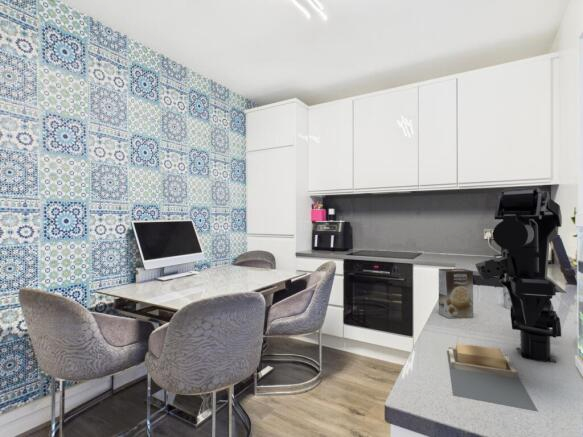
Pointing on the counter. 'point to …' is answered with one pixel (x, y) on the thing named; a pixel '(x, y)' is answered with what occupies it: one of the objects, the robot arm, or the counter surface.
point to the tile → (480, 356)
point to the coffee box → (456, 293)
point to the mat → (490, 388)
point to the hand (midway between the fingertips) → (523, 319)
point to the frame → (483, 367)
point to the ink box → (506, 298)
